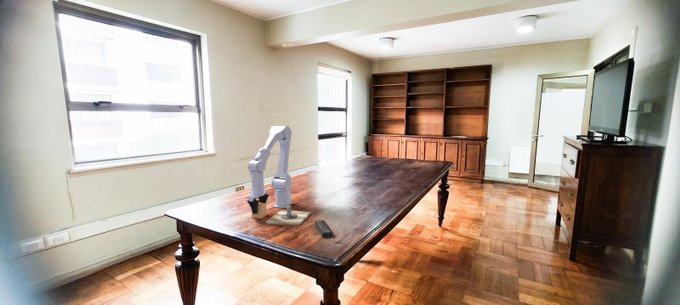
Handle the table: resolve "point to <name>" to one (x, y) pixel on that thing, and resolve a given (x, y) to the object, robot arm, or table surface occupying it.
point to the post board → (288, 217)
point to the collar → (260, 211)
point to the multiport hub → (323, 229)
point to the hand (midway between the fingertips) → (259, 211)
